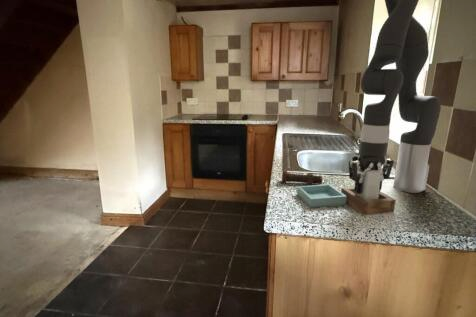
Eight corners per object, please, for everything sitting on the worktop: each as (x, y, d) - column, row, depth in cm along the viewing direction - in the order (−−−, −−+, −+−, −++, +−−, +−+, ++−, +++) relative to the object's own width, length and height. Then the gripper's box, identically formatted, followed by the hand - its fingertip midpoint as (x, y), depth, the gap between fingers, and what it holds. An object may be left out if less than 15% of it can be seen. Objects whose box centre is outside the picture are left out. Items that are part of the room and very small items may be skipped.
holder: (368, 196, 95) (370, 185, 94) (393, 212, 84) (395, 199, 83) (340, 199, 93) (341, 187, 92) (362, 215, 82) (363, 202, 81)
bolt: (321, 190, 106) (281, 186, 108) (320, 180, 110) (282, 176, 112) (323, 180, 102) (282, 176, 104) (322, 170, 106) (282, 167, 108)
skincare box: (377, 209, 86) (383, 172, 82) (363, 209, 85) (368, 172, 82) (367, 201, 92) (372, 166, 88) (354, 201, 91) (358, 166, 88)
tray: (328, 192, 99) (329, 184, 98) (345, 204, 89) (346, 196, 88) (296, 194, 97) (297, 186, 96) (310, 208, 87) (311, 199, 86)
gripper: (386, 136, 88) (379, 186, 92) (345, 138, 85) (339, 189, 90) (404, 141, 81) (396, 195, 85) (359, 143, 78) (353, 198, 82)
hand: (367, 192), depth 87 cm, fingers open, 5 cm apart
